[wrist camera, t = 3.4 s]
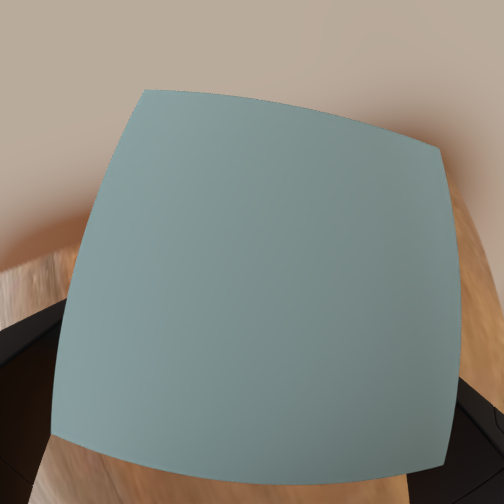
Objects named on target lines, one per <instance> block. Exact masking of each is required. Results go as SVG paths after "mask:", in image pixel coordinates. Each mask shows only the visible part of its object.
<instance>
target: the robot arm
mask: <svg viewBox="0 0 504 504" xmlns="http://www.w3.org/2000/svg"><path fill="white" fill-rule="evenodd" d="M66 301H67V298H66V299H64V300H62V301H60V302H58V303H56V304H54V305H52V306H50V307H48V308H46V309H43V310H41V311H39V312H37V313H35V314H33V315H31V316H29V317H27V318H25V319H23V320H21V321H19V322H17V323H15V324H13V325H11V326H9V327H7V328H5V329H3V330H1V331H0V504H28V502H29V498H30V495H31V492H32V488H33V486H32V485H33V484H34V481H35V478H36V475H37V472H38V469H39V466H40V463H41V460H42V457H43V454H44V452H45V449H46V446H47V443H48V441H49V438H50V435H51V416H52V399H53V387H54V376H55V367H56V359H57V352H58V345H59V339H60V333H61V327H62V321H63V316H64V311H65V306H66ZM406 476H407V483H408V492H409V501H410V504H504V414H503V413H501V412H500V411H499V410H498V409H497V408H496V407H493V405H492V404H491V403H490V402H489V401H487V400H486V399H485V398H484V397H483V396H481V395H480V394H479V393H478V392H477V391H476V390H474V389H473V388H472V387H471V386H470V385H468V384H467V383H466V382H465V381H464V380H462V379H461V378H460V377H459V378H458V387H457V396H456V403H455V410H454V416H453V422H452V428H451V433H450V438H449V443H448V448H447V452H446V456H445V460H444V464H443V465H441V466H438V467H434V468H430V469H426V470H421V471H417V472H412V473H407V474H406Z"/></svg>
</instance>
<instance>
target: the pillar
mask: <svg viewBox="0 0 504 504" xmlns="http://www.w3.org/2000/svg"><path fill="white" fill-rule="evenodd" d="M460 351H461V284H460V269H459V257H458V247H457V238H456V230H455V223H454V217H453V210H452V204H451V199H450V193H449V188H448V183H447V179H446V174H445V170H444V165H443V161H442V158H441V153H440V150H439V148H437V147H434V146H432V145H429V144H427V143H424V142H421V141H419V140H416V139H413V138H410V137H407V136H404V135H402V134H398V133H396V132H393V131H389V130H386V129H383V128H380V127H377V126H373V125H370V124H367V123H363V122H360V121H356V120H352V119H349V118H345V117H341V116H337V115H333V114H329V113H325V112H320V111H316V110H312V109H307V108H302V107H297V106H292V105H287V104H282V103H276V102H270V101H265V100H258V99H252V98H244V97H237V96H229V95H220V94H211V93H200V92H186V91H169V90H144V92H143V94H142V96H141V97H140V99H139V101H138V103H137V105H136V107H135V109H134V111H133V113H132V116H131V117H130V119H129V121H128V123H127V125H126V128H125V130H124V132H123V134H122V136H121V138H120V140H119V143H118V145H117V147H116V149H115V152H114V154H113V156H112V159H111V161H110V163H109V166H108V169H107V171H106V173H105V176H104V178H103V181H102V184H101V186H100V189H99V191H98V194H97V197H96V200H95V203H94V205H93V208H92V211H91V214H90V217H89V220H88V223H87V226H86V229H85V233H84V236H83V239H82V242H81V246H80V249H79V253H78V256H77V260H76V264H75V268H74V271H73V275H72V279H71V284H70V288H69V292H68V297H67V301H66V306H65V311H64V316H63V321H62V327H61V333H60V339H59V345H58V352H57V359H56V367H55V376H54V387H53V399H52V416H51V434H53V435H56V436H58V437H60V438H63V439H65V440H67V441H70V442H72V443H75V444H77V445H80V446H83V447H85V448H88V449H91V450H93V451H96V452H99V453H102V454H105V455H108V456H111V457H114V458H117V459H121V460H124V461H128V462H131V463H135V464H138V465H142V466H146V467H150V468H154V469H158V470H163V471H167V472H172V473H177V474H182V475H188V476H194V477H200V478H206V479H214V480H221V481H230V482H241V483H254V484H274V485H313V484H333V483H346V482H356V481H364V480H372V479H379V478H386V477H392V476H397V475H402V474H407V473H412V472H417V471H421V470H426V469H430V468H434V467H438V466H441V465H443V464H444V460H445V456H446V452H447V448H448V443H449V438H450V433H451V428H452V422H453V416H454V410H455V403H456V396H457V387H458V378H459V366H460Z"/></svg>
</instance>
